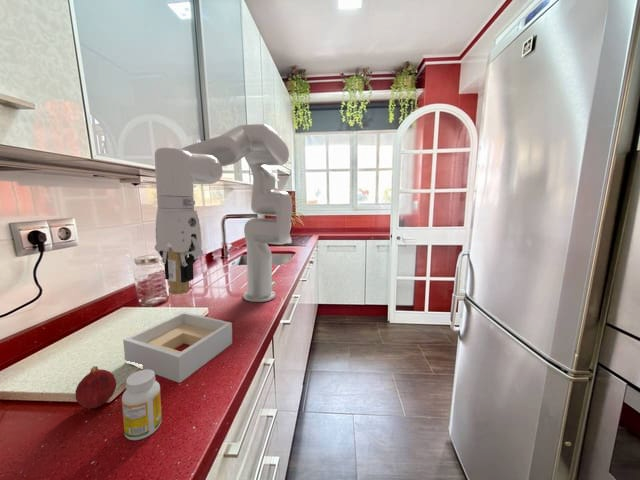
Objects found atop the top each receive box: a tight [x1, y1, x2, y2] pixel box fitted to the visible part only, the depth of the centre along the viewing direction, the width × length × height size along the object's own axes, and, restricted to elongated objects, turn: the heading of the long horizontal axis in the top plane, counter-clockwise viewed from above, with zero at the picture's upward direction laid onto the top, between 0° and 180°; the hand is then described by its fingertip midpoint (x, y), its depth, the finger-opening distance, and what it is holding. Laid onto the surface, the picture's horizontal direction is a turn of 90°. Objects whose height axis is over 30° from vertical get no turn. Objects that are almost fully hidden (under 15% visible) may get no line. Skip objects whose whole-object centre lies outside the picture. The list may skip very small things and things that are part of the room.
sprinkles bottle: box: [167, 243, 191, 295], centre depth 64 cm, size 5×5×14 cm
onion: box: [75, 365, 117, 409], centre depth 49 cm, size 6×6×8 cm
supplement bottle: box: [121, 369, 163, 441], centre depth 45 cm, size 5×5×10 cm
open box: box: [122, 311, 233, 384], centre depth 67 cm, size 17×17×6 cm
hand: (179, 278), depth 64 cm, fingers closed on sprinkles bottle, 4 cm apart
